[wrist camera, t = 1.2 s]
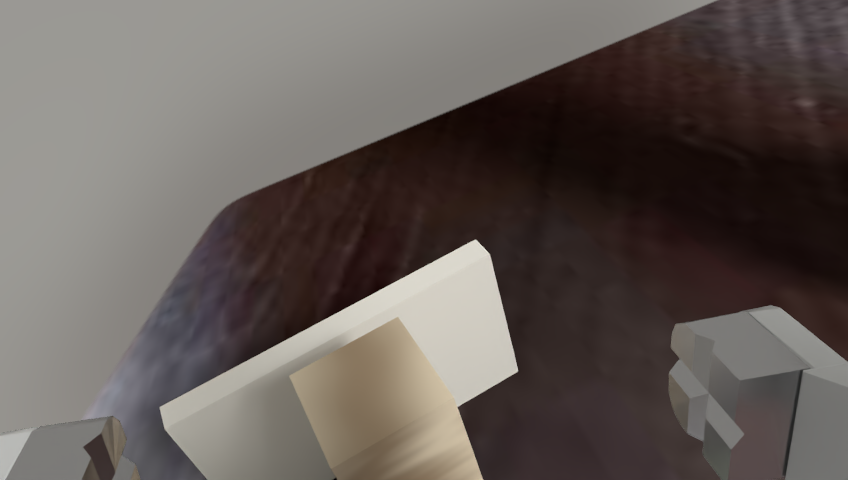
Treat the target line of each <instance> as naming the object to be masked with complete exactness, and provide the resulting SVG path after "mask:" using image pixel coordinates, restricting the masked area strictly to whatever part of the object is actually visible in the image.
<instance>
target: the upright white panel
mask: <svg viewBox="0 0 848 480" xmlns="http://www.w3.org/2000/svg"><path fill="white" fill-rule="evenodd" d="M396 317H398V318H399V319H400V320H401V322H402V323H403V325H404V326H405V328H406V329H407V331H408V332H409V333H410V335H411V336H412V338H413V339H414V341H415V342H416V344H417V345H418V346H419V348H420V349H421V351H422V352H423V354H424V355H425V357H426V358H427V360H428V361H429V362H430V364H431V365H432V367H433V368H434V370H435V371H436V373H437V374H438V375H439V377H440V378H441V380H442V381H443V383H444V384H445V386H446V387H447V388H448V390H449V391H450V393H451V394H452V396H453V397H454V399H455V402H456V405H457V407H458V406H460V405H462V404H463V403H465V402H467V401H468V400H470V399H472V398H474V397H475V396H477V395H479V394H480V393H482V392H484V391H486V390H487V389H489V388H491V387H492V386H494V385H496V384H498V383H499V382H501V381H503V380H504V379H506V378H508V377H510V376H511V375H513V374H515V373H516V372H518V368H517V364H516V360H515V355H514V351H513V347H512V343H511V339H510V335H509V331H508V327H507V323H506V319H505V314H504V310H503V306H502V302H501V298H500V294H499V290H498V286H497V282H496V278H495V273H494V269H493V265H492V261H491V257H490V254H489V253H488V252H487V251H486V250H485V249H484V248H483V247H482V246H481V244H480V243H479V242H478V241H477V240H474V241H472V242H470V243H468V244H466V245H464V246H462V247H461V248H459V249H457V250H455V251H453V252H451V253H449V254H447V255H445V256H444V257H442V258H440V259H438V260H436V261H434V262H432V263H430V264H428V265H427V266H425V267H423V268H421V269H419V270H417V271H415V272H413V273H411V274H410V275H408V276H406V277H404V278H402V279H400V280H398V281H396V282H395V283H393V284H391V285H389V286H387V287H385V288H383V289H381V290H379V291H378V292H376V293H374V294H372V295H370V296H368V297H366V298H364V299H362V300H361V301H359V302H357V303H355V304H353V305H351V306H349V307H347V308H346V309H344V310H342V311H340V312H338V313H336V314H334V315H332V316H330V317H329V318H327V319H325V320H323V321H321V322H319V323H317V324H315V325H313V326H312V327H310V328H308V329H306V330H304V331H302V332H300V333H298V334H297V335H295V336H293V337H291V338H289V339H287V340H285V341H283V342H281V343H280V344H278V345H276V346H274V347H272V348H270V349H268V350H266V351H264V352H263V353H261V354H259V355H257V356H255V357H253V358H251V359H249V360H248V361H246V362H244V363H242V364H240V365H238V366H236V367H234V368H232V369H231V370H229V371H227V372H225V373H223V374H221V375H219V376H217V377H215V378H214V379H212V380H210V381H208V382H206V383H204V384H202V385H200V386H198V387H197V388H195V389H193V390H191V391H189V392H187V393H185V394H183V395H182V396H180V397H178V398H176V399H174V400H172V401H170V402H168V403H166V404H165V405H163V406H161V407H160V411H161V416H162V420H163V425H164V429H165V430H166V431H167V433H168V434H169V435H170V436H171V437H172V439H173V440H174V441H175V442H176V443H177V444H178V446H179V447H180V448H181V449H182V450H183V452H184V453H185V454H186V455H187V456H188V457H189V459H190V460H191V461H192V462H193V463H194V465H195V466H196V467H197V468H198V469H199V470H200V472H201V473H202V474H203V475H204V476H205V478H206V479H207V480H333V479H334V478H336V477H335V475H334V473H333V472H332V470H331V468H330V466H329V464H328V462H327V459H326V457H325V455H324V453H323V450H322V448H321V446H320V444H319V442H318V439H317V437H316V435H315V433H314V430H313V428H312V426H311V424H310V421H309V419H308V417H307V415H306V413H305V410H304V408H303V406H302V404H301V401H300V399H299V397H298V395H297V392H296V390H295V388H294V386H293V384H292V381H291V379H290V377H289V375H291V374H293V373H295V372H297V371H299V370H300V369H302V368H304V367H306V366H308V365H310V364H312V363H313V362H315V361H317V360H319V359H321V358H323V357H324V356H326V355H328V354H330V353H332V352H334V351H336V350H337V349H339V348H341V347H343V346H345V345H347V344H348V343H350V342H352V341H354V340H356V339H358V338H359V337H361V336H363V335H365V334H367V333H369V332H371V331H372V330H374V329H376V328H378V327H380V326H382V325H383V324H385V323H387V322H389V321H391V320H393V319H395V318H396Z"/></svg>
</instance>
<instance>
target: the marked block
mask: <svg viewBox="0 0 848 480" xmlns="http://www.w3.org/2000/svg"><path fill="white" fill-rule="evenodd" d="M289 377H290V379H291V381H292V384H293V386H294V388H295V390H296V392H297V395H298V397H299V399H300V401H301V404H302V406H303V408H304V410H305V413H306V415H307V417H308V419H309V421H310V424H311V426H312V428H313V430H314V433H315V435H316V437H317V439H318V442H319V444H320V446H321V448H322V450H323V453H324V455H325V457H326V459H327V462H328V464H329V466H330V468H331V470H332V472H333V473H334V475H335V477H336V478H337V480H483V478H482V475H481V473H480V470H479V467H478V464H477V461H476V459H475V456H474V453H473V450H472V447H471V444H470V442H469V439H468V436H467V433H466V430H465V428H464V425H463V422H462V419H461V416H460V413H459V411H458V408H457V405H456V402H455V399H454V397H453V396H452V394H451V393H450V391H449V390H448V388H447V387H446V386H445V384H444V383H443V381H442V380H441V378H440V377H439V375H438V374H437V373H436V371H435V370H434V368H433V367H432V365H431V364H430V362H429V361H428V360H427V358H426V357H425V355H424V354H423V352H422V351H421V349H420V348H419V346H418V345H417V344H416V342H415V341H414V339H413V338H412V336H411V335H410V333H409V332H408V331H407V329H406V328H405V326H404V325H403V323H402V322H401V320H400V319H399V318H398V317H396V318H395V319H393V320H391V321H389V322H387V323H385V324H383V325H382V326H380V327H378V328H376V329H374V330H372V331H371V332H369V333H367V334H365V335H363V336H361V337H359V338H358V339H356V340H354V341H352V342H350V343H348V344H347V345H345V346H343V347H341V348H339V349H337V350H336V351H334V352H332V353H330V354H328V355H326V356H324V357H323V358H321V359H319V360H317V361H315V362H313V363H312V364H310V365H308V366H306V367H304V368H302V369H300V370H299V371H297V372H295V373H293V374H291V375H289Z"/></svg>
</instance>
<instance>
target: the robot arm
mask: <svg viewBox="0 0 848 480" xmlns="http://www.w3.org/2000/svg"><path fill="white" fill-rule="evenodd" d="M671 348H672V350H673V351H674V352H675V353H676V354H677V356H678V357H679V358H680V359H679V360H678V361H677V363H676V364H675V365H674V367H673V368H672V369H671V371H670V372H669V394H670V399H671V403H672V408H673V411H674V413H675V415H676V417H677V419H678V421H679V423H680V424H681V426H682V427H683V428H684V430H685V431H686V433H687V434H689V435H691V436H693V437H696V438H698V439H700V440H702V441H704V442H703V456H704V457H705V458H706V460H707V461H708V462H709V464H710V465H711V466H712V468H713V469H714V470H715V472H716V473H717V474H718V475H719V477H720V478H721V479H722V480H773V479H780V478H785V480H848V362H847V361H846V360H844V359H843V358H842V357H841V356H839V355H838V354H837V353H836V352H834V351H833V350H832V349H831V348H830V347H828V346H827V345H826V344H825V343H823V342H822V341H821V340H820V339H818V338H817V337H816V336H815V335H813V334H812V333H811V332H810V331H808V330H807V329H806V328H805V327H803V326H802V325H801V324H800V323H798V322H797V321H796V320H795V319H794V318H792V317H791V316H790V315H789V314H787V313H786V312H785V311H784V310H782V309H781V308H779V307H775V306H771V305H770V306H765V307H760V308H755V309H750V310H745V311H740V312H739V313H734V314H728V315H722V316H717V317H711V318H706V319H700V320H695V321H689V322H683V323H678V324H676V325H675V327H674V330H673V332H672V340H671ZM126 440H127V438H126V436H125V433H124V431H123V428H122V426H121V423H120V421H119V420H118V419H116V418H115V417H113V416H109V417H102V418H95V419H88V420H81V421H75V422H68V423H61V424H54V425H47V426H40V427H39V428H36V427H34V428H27V429H21V430H15V431H10V432H3V433H1V434H0V480H140V476H139V473H138V470H137V467H136V464H134V463H133V462H131V461H130V460H128V459H127V458H125V457H124V456H122V452H123V449H124V446H125V443H126Z"/></svg>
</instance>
